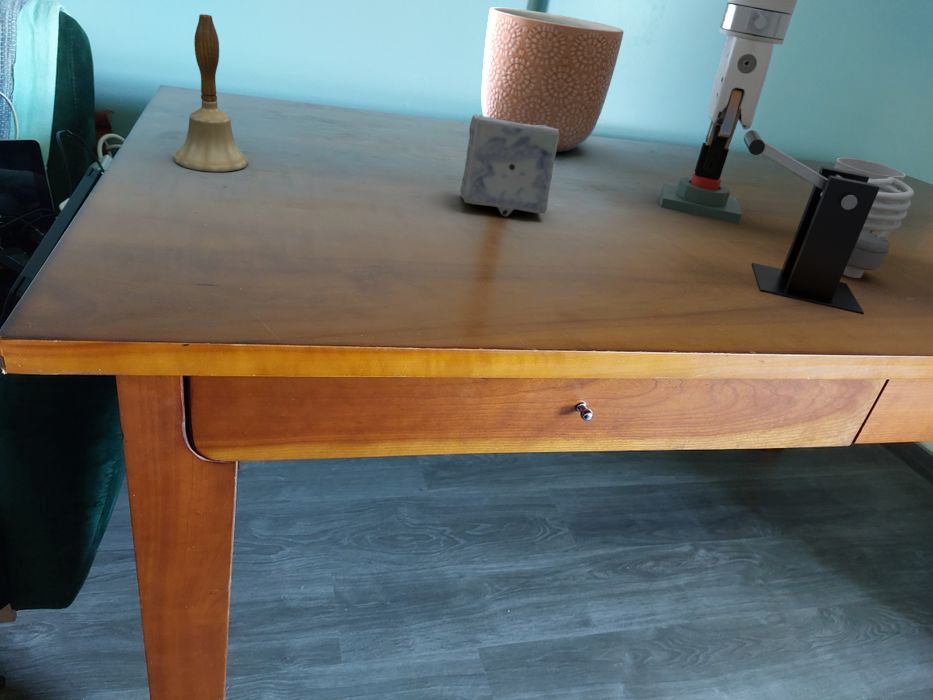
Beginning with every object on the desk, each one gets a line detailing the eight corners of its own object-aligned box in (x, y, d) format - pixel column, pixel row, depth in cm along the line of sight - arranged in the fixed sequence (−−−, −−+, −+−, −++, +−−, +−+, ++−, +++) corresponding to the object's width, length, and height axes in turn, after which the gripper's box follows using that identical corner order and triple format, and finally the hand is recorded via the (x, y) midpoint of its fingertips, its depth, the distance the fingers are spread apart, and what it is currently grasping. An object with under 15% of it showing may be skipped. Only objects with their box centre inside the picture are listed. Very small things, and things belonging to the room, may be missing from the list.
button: (716, 189, 98) (720, 176, 97) (718, 196, 94) (722, 182, 94) (689, 183, 98) (693, 170, 97) (690, 190, 95) (694, 177, 94)
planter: (445, 131, 119) (462, 3, 110) (520, 123, 134) (541, 10, 125) (548, 167, 108) (576, 29, 99) (618, 154, 123) (648, 33, 114)
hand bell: (184, 173, 81) (178, 18, 74) (165, 152, 87) (158, 6, 79) (257, 171, 86) (259, 24, 78) (235, 151, 91) (234, 13, 84)
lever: (742, 154, 69) (758, 132, 68) (737, 144, 73) (752, 123, 72) (851, 219, 69) (869, 197, 68) (840, 205, 74) (857, 184, 72)
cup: (880, 258, 93) (915, 181, 88) (816, 245, 93) (846, 168, 89) (861, 237, 100) (893, 165, 95) (801, 226, 100) (829, 153, 96)
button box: (731, 213, 101) (740, 185, 99) (736, 230, 94) (746, 200, 92) (658, 198, 102) (666, 170, 100) (658, 214, 95) (667, 184, 93)
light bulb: (831, 287, 80) (877, 180, 74) (812, 268, 85) (853, 166, 79) (881, 295, 80) (930, 189, 74) (859, 275, 85) (904, 174, 79)
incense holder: (536, 201, 92) (553, 117, 87) (544, 223, 85) (563, 133, 80) (459, 191, 91) (471, 105, 86) (460, 212, 84) (475, 120, 79)
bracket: (756, 300, 73) (803, 175, 67) (748, 272, 80) (790, 157, 74) (859, 323, 72) (916, 198, 66) (842, 293, 79) (892, 177, 73)
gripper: (796, 35, 80) (740, 197, 88) (777, 27, 93) (730, 169, 101) (727, 22, 81) (678, 184, 89) (718, 17, 94) (676, 158, 102)
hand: (706, 176), depth 95 cm, fingers closed
